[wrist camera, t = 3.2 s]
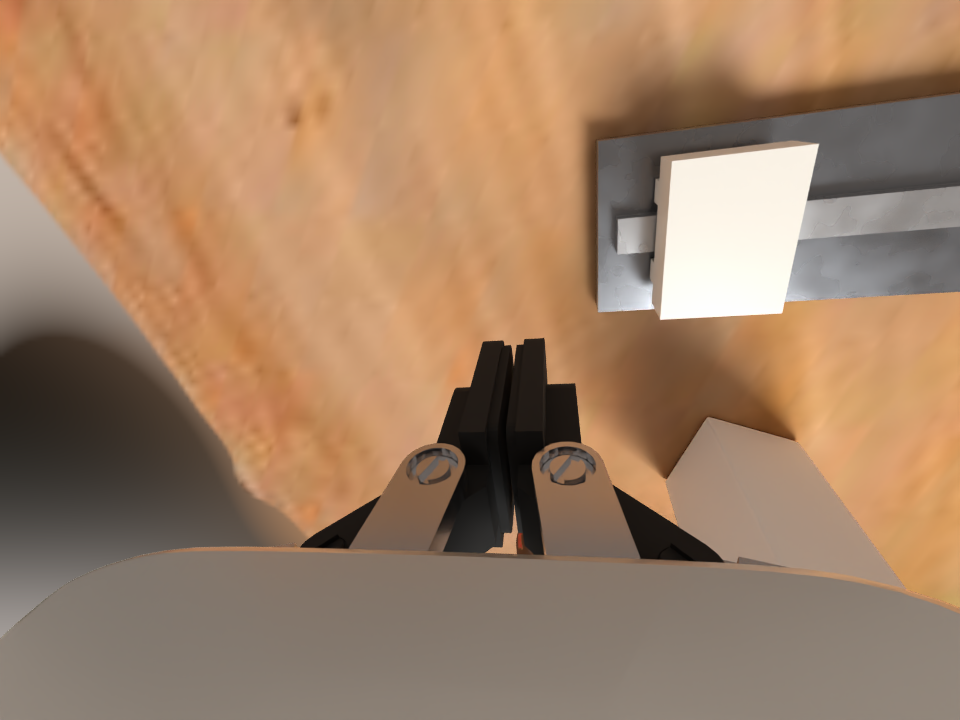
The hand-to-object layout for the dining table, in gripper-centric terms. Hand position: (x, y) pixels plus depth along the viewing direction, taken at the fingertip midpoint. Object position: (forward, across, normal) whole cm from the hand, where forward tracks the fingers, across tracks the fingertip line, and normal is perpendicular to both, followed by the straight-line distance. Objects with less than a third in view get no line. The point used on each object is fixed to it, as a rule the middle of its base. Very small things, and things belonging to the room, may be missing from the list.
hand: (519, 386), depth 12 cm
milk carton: (+18, -14, +19) cm, 30 cm away
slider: (+16, -10, 0) cm, 19 cm away
